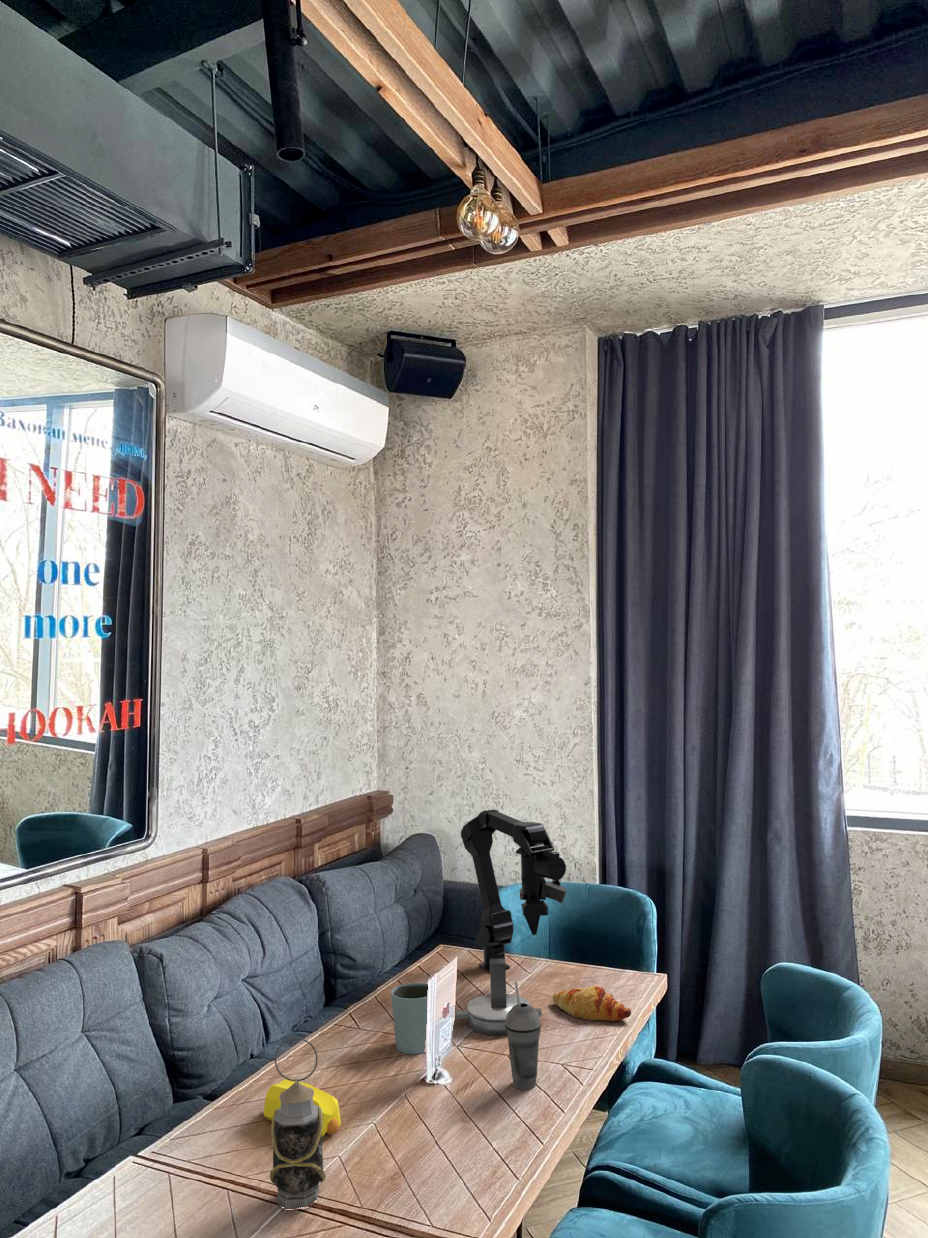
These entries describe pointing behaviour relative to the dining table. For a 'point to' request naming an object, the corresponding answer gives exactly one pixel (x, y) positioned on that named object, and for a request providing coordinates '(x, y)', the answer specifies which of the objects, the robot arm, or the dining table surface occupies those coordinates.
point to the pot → (486, 1024)
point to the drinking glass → (410, 1017)
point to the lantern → (297, 1144)
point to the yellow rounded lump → (319, 1099)
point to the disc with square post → (494, 996)
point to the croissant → (591, 1004)
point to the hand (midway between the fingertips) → (534, 934)
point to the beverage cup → (523, 1043)
